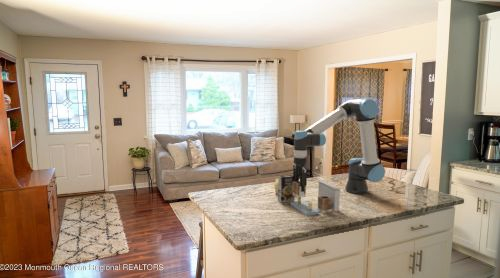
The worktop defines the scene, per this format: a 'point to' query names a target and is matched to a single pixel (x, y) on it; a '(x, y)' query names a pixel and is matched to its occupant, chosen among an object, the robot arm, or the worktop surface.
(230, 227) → the worktop surface
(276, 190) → the sculpture
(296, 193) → the sleeve
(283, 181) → the coffee box
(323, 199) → the sleeve
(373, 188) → the worktop surface
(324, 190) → the feeder housing
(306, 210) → the pin board
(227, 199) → the worktop surface
